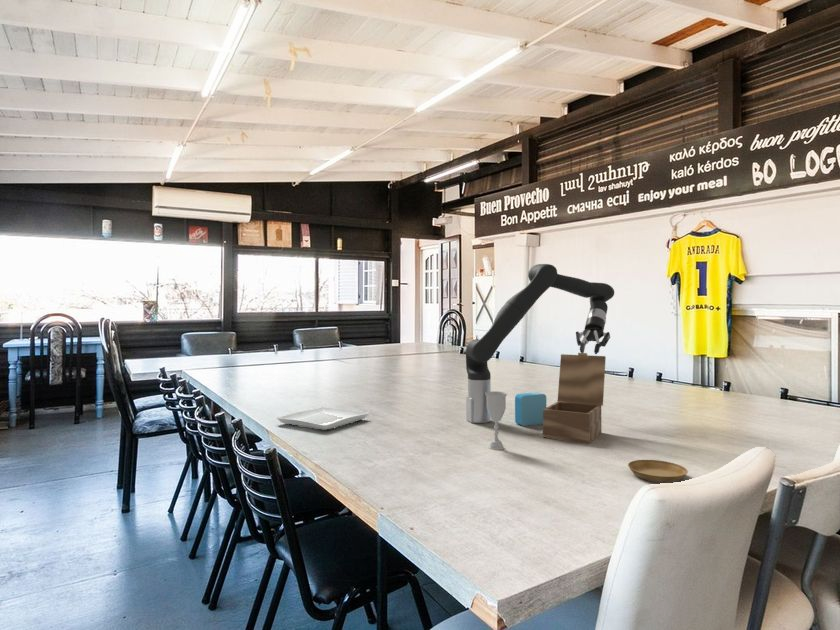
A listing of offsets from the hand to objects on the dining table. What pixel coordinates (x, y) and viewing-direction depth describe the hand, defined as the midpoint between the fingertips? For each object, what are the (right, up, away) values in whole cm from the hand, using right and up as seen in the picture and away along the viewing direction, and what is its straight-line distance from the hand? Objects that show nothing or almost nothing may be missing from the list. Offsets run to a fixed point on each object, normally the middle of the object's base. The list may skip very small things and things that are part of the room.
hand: (588, 352), depth 202 cm
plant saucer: (-3, -29, -65) cm, 71 cm away
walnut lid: (-7, -9, -11) cm, 16 cm away
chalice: (-43, -29, -36) cm, 63 cm away
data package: (-24, -29, -2) cm, 37 cm away
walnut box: (-12, -28, -20) cm, 37 cm away
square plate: (-107, -29, +3) cm, 111 cm away
